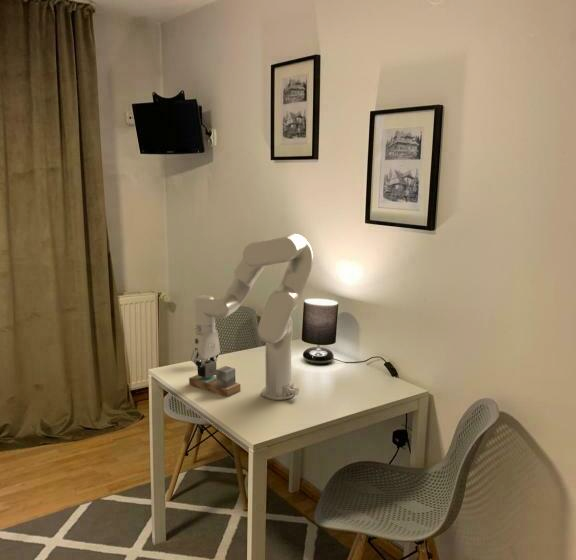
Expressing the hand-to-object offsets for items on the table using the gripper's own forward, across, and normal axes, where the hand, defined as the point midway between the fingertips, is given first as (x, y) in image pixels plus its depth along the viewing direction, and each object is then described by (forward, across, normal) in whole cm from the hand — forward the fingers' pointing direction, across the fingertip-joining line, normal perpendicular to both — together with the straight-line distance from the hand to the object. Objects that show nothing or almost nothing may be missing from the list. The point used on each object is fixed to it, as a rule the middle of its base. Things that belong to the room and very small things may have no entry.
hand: (206, 373), depth 216 cm
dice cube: (+1, 0, 0) cm, 1 cm away
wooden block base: (+5, 0, -4) cm, 6 cm away
